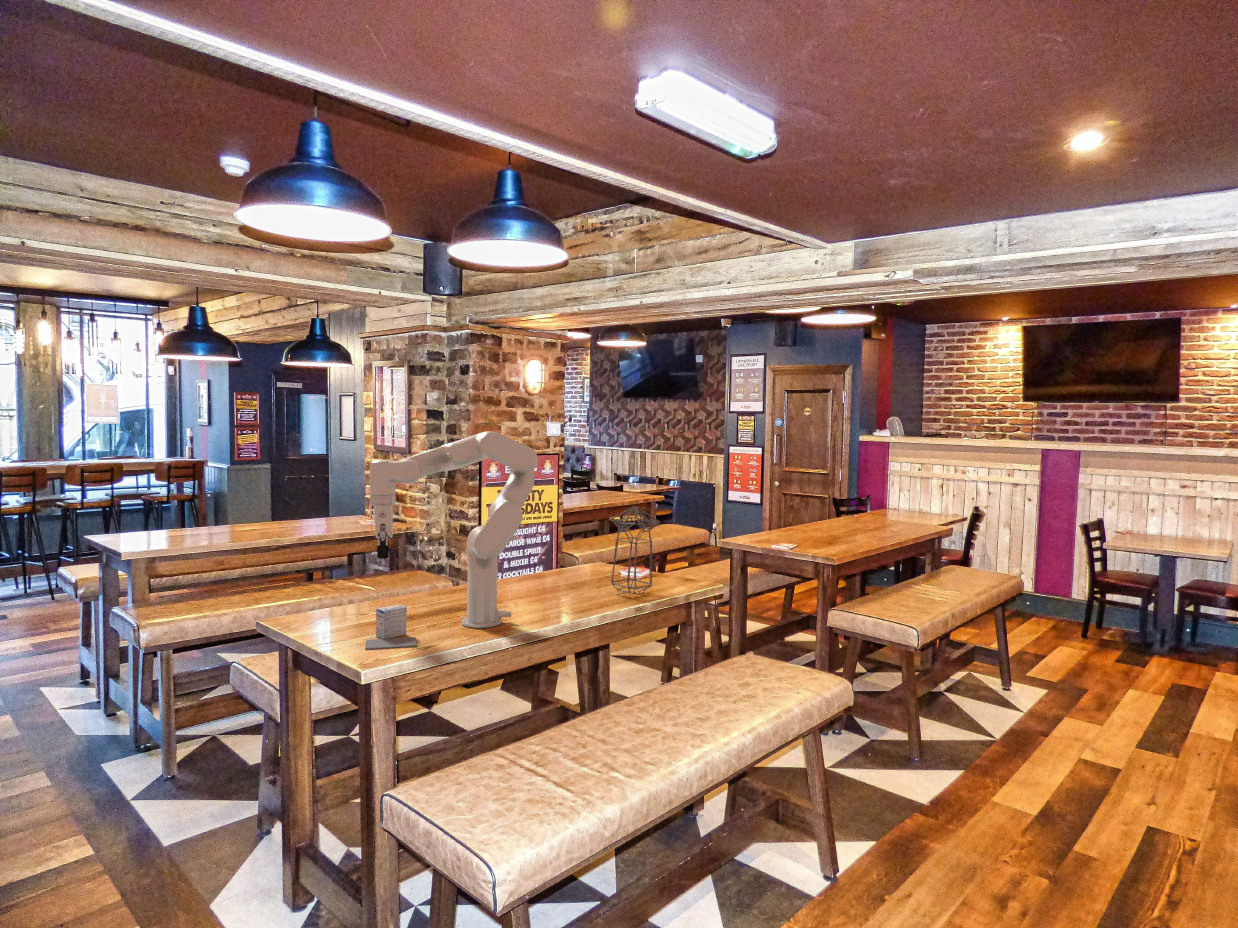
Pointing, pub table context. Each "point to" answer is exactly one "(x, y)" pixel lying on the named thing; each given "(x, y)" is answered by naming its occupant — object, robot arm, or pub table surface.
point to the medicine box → (391, 621)
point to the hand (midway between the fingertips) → (383, 555)
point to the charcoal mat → (390, 643)
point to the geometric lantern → (638, 511)
